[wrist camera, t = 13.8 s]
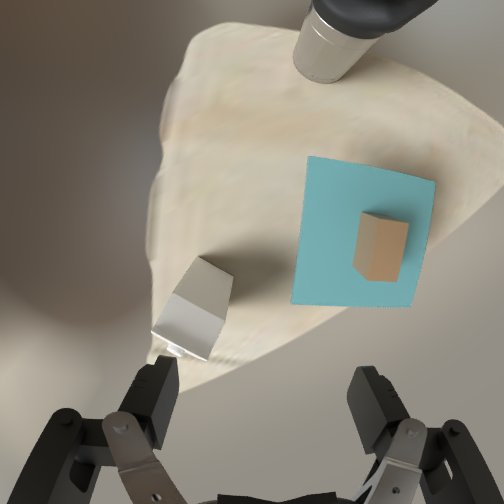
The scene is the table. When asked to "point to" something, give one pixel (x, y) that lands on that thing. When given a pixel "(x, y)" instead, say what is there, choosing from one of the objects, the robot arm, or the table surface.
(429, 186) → the teal square mat
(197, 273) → the milk carton
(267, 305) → the table surface
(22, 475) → the robot arm
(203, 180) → the table surface
